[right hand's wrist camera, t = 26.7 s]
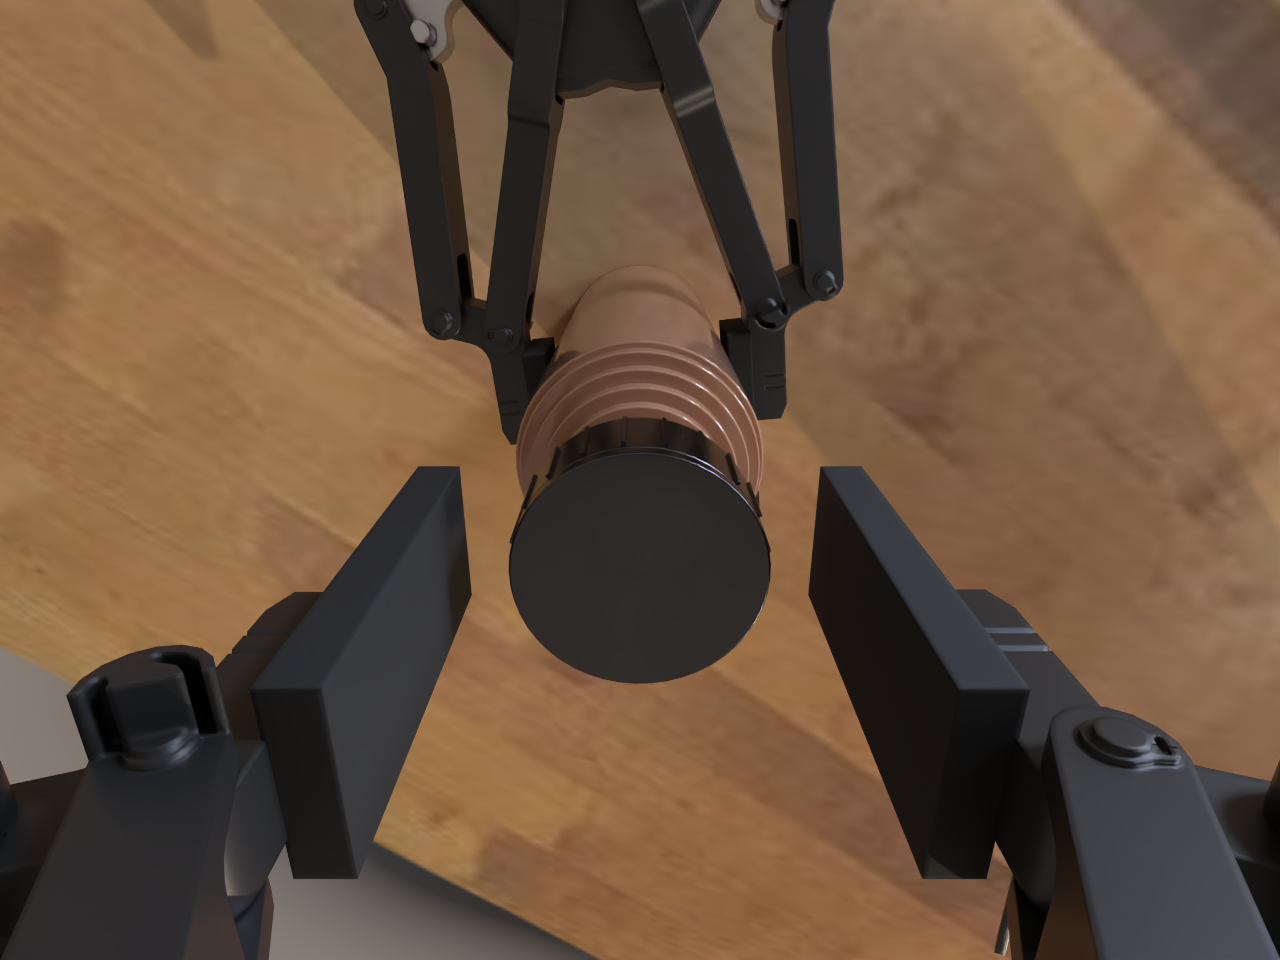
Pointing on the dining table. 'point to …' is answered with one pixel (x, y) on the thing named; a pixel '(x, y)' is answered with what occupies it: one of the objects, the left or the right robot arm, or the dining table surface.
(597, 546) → the cap
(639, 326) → the bottle
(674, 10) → the left robot arm
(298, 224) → the dining table surface
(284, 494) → the dining table surface
